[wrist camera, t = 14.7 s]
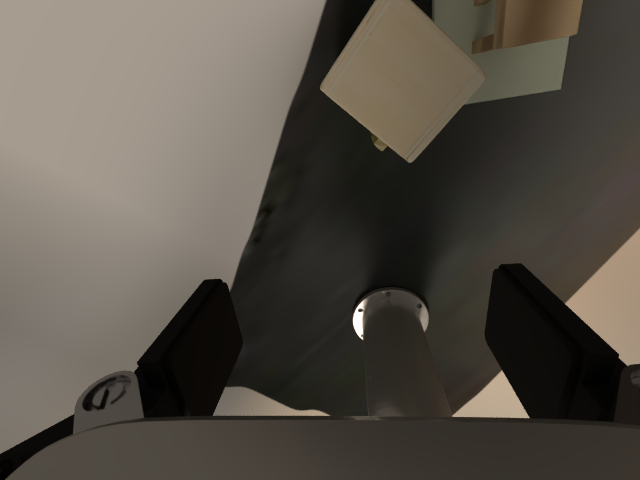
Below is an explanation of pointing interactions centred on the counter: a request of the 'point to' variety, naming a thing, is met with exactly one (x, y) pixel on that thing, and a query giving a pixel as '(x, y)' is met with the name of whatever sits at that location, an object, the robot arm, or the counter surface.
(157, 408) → the robot arm
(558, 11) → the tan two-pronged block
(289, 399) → the counter surface
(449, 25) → the sage mat
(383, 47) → the beige block
